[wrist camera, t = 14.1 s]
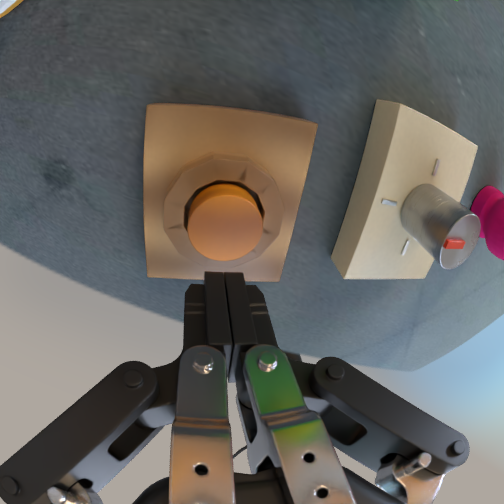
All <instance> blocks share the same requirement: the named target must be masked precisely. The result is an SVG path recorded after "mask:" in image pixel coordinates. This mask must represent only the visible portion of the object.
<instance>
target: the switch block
mask: <svg viewBox="0 0 504 504" xmlns="http://www.w3.org/2000/svg"><path fill="white" fill-rule="evenodd" d="M317 127H318V124H317V123H314V122H312V121H309V120H306V119H302V118H297V117H292V116H287V115H281V114H276V113H270V112H263V111H257V110H249V109H242V108H233V107H224V106H213V105H200V104H181V103H153V104H149V105H147V108H146V121H145V137H144V163H143V207H144V234H145V251H146V265H147V276H148V277H155V278H174V279H197V280H204V272H205V271H208V272H223V274H224V272H243V275H244V279H245V281H259V282H279V281H280V277H281V273H282V270H283V266H284V262H285V258H286V255H287V251H288V247H289V243H290V240H291V236H292V232H293V228H294V224H295V220H296V216H297V212H298V208H299V204H300V200H301V196H302V192H303V188H304V184H305V179H306V175H307V171H308V167H309V162H310V158H311V154H312V149H313V145H314V140H315V136H316V131H317ZM216 184H233V185H237V186H239V187H241V188H243V189H245V190H246V191H247V192H249V193H250V194H251V195H252V197H253V198H254V200H255V202H256V204H257V207H258V209H259V212H260V214H261V217H262V221H263V232H262V236H261V238H260V241H259V242H258V244H257V245H256V247H255V248H254V249H253V250H252V251H251V252H249V253H248V254H246V255H245V256H243V257H241V258H238V259H235V260H231V261H217V260H212V259H209V258H207V257H205V256H203V255H202V254H200V253H199V252H198V251H197V250H196V249H195V248H194V247H193V245H192V244H191V242H190V240H189V237H188V231H187V227H188V218H189V210H190V206H191V204H192V202H193V200H194V199H195V197H196V196H197V195H198V194H199V193H200V192H201V191H203V190H204V189H206V188H208V187H210V186H213V185H216Z"/></svg>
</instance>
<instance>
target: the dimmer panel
mask: <svg viewBox="0 0 504 504" xmlns="http://www.w3.org/2000/svg"><path fill="white" fill-rule="evenodd" d="M477 148H478V146H477V145H475V144H474V143H472V142H471V141H469V140H468V139H466V138H464V137H463V136H461V135H460V134H458V133H456V132H455V131H453V130H451V129H449V128H448V127H446V126H444V125H442V124H441V123H439V122H437V121H435V120H433V119H431V118H429V117H427V116H425V115H423V114H421V113H419V112H417V111H415V110H413V109H411V108H409V107H407V106H405V105H403V104H400V103H395V102H391V101H386V100H380V99H377V100H376V104H375V109H374V113H373V117H372V122H371V126H370V130H369V134H368V138H367V142H366V146H365V149H364V153H363V157H362V161H361V164H360V168H359V171H358V175H357V178H356V182H355V185H354V188H353V192H352V195H351V198H350V201H349V205H348V208H347V211H346V214H345V217H344V220H343V223H342V226H341V229H340V232H339V235H338V238H337V241H336V244H335V247H334V250H333V252H332V255H331V259H332V261H333V263H334V264H335V266H336V267H337V269H338V271H339V272H340V274H341V276H342V277H343V279H424V278H425V276H426V274H427V273H428V271H429V269H430V267H431V265H432V263H433V261H434V258H433V257H432V256H431V255H430V254H429V253H428V252H427V251H426V250H425V249H424V248H423V247H422V246H421V245H420V244H419V243H418V242H417V241H416V240H415V239H414V238H413V237H412V236H411V235H410V234H409V233H408V232H407V231H406V230H405V229H404V228H403V226H402V223H401V210H402V207H403V204H404V202H405V200H406V198H407V196H408V195H409V194H410V193H411V191H412V190H413V189H415V188H416V187H418V186H419V185H422V184H432V185H434V186H435V187H437V188H438V189H440V190H441V191H443V192H444V193H446V194H447V195H449V196H450V197H452V198H453V199H455V200H456V201H458V202H459V203H460V200H461V198H462V195H463V192H464V189H465V187H466V184H467V181H468V178H469V175H470V172H471V169H472V165H473V162H474V159H475V155H476V152H477Z"/></svg>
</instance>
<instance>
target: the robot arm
mask: <svg viewBox="0 0 504 504" xmlns="http://www.w3.org/2000/svg"><path fill="white" fill-rule="evenodd" d="M227 377H228V382H229V383H230V382H236V387H237V395H236V403H237V407H238V412H239V416H240V420H241V424H242V428H243V432H244V435H245V440H246V443H247V445H246V446H245V447H243V448H241V449H240V450H239V451H237V452H236V454H234V455H232V437H231V427H230V423H229V419H228V395H227ZM172 423H173V424H172ZM168 424H172V432H171V448H170V449H171V450H170V471H169V473H170V474H169V477H166V478H163V479H161V480H159V481H157V482H155V483H154V484H152V485H150V486H149V487H148V488H147V489H146V490H144V491H143V492H142V494H141V495H140V496H139V497H138V498H137V499H136V500H135V501H134V502H133V504H432V503H433V501H434V499H435V497H436V495H437V493H438V491H439V488H440V486H441V483H442V481H443V479H444V476H445V474H446V473H447V472H449V471H451V470H453V469H454V468H456V467H458V466H460V465H462V464H463V463H464V462H465V461H466V460H467V458H468V456H469V443H468V440H467V439H466V437H465V436H464V435H463V434H461V433H459V432H458V431H456V430H454V429H452V428H451V427H449V426H447V425H446V424H444V423H442V422H441V421H439V420H437V419H435V418H434V417H432V416H430V415H429V414H427V413H425V412H423V411H422V410H420V409H419V408H417V407H415V406H414V405H412V404H411V403H409V402H407V401H406V400H404V399H403V398H401V397H399V396H398V395H396V394H394V393H393V392H391V391H390V390H388V389H387V388H385V387H383V386H382V385H380V384H379V383H377V382H376V381H374V380H373V379H371V378H369V377H368V376H366V375H365V374H363V373H362V372H360V371H359V370H357V369H356V368H354V367H353V366H351V365H350V364H348V363H347V362H345V361H343V360H342V359H339V358H336V357H325V358H322V359H321V360H319V361H318V362H317V364H316V365H315V364H310V363H304V362H299V361H295V360H293V359H290V358H289V357H287V355H286V354H285V353H284V352H283V351H282V350H281V349H279V347H278V345H277V342H276V338H275V334H274V331H273V327H272V324H271V320H270V316H269V314H268V309H267V306H266V302H265V298H264V295H263V293H262V292H261V291H260V290H259V289H258V287H257V286H256V285H246V284H245V279H244V275H243V272H224V274H223V272H208V271H205V272H204V284H191V285H190V286H189V288H188V289H187V291H186V292H185V306H184V339H183V350H182V353H181V354H180V356H179V357H178V358H177V359H176V360H175V361H173V362H172V363H169V364H167V365H164V366H160V367H156V368H151V367H150V366H148V365H146V364H145V363H142V362H139V361H129V362H125V363H123V364H121V365H119V366H118V367H116V368H115V369H114V370H113V371H112V372H111V373H110V374H108V375H107V376H106V377H105V378H104V379H102V380H101V381H100V382H99V383H98V384H96V385H95V386H94V387H93V388H92V389H91V390H89V391H88V392H87V393H86V394H85V395H83V396H82V397H81V398H80V399H79V400H78V401H76V402H75V403H74V404H73V405H72V406H71V407H69V408H68V409H67V410H66V411H65V412H63V413H62V414H61V415H60V416H59V417H57V418H56V419H55V420H54V421H53V422H52V423H50V424H49V425H48V426H47V427H46V428H45V429H43V430H42V431H41V432H40V433H39V434H37V435H36V436H35V437H34V438H33V439H32V440H30V441H29V442H28V443H27V444H26V445H25V446H23V447H22V448H21V449H20V450H19V451H17V452H16V453H15V454H14V455H13V456H11V457H10V458H9V459H8V460H7V461H6V462H4V463H3V464H2V465H1V466H0V497H1V498H2V499H3V501H4V502H6V503H7V504H103V502H102V500H101V498H100V497H99V496H98V494H97V493H98V492H99V491H100V490H101V489H102V488H103V487H104V486H105V485H106V484H107V483H109V482H110V481H111V479H113V478H114V477H115V476H116V475H117V474H118V473H119V472H120V471H121V470H122V469H123V468H124V467H125V466H126V465H127V464H128V463H129V462H130V461H131V460H132V459H133V458H134V457H135V456H136V455H137V454H138V453H139V452H140V451H141V450H142V449H143V448H144V447H145V446H146V445H147V444H148V443H149V442H150V441H151V440H152V439H153V438H154V437H155V436H156V435H157V434H158V432H159V431H160V430H161V429H162V428H163V427H164V426H165V425H168ZM334 447H336V448H337V449H339V450H340V451H342V452H344V453H345V454H347V455H348V456H350V457H351V458H353V459H355V460H356V461H358V462H360V463H361V464H363V465H365V466H366V467H368V468H370V469H371V470H373V471H375V472H377V476H376V478H375V484H376V485H377V486H379V487H381V488H382V489H383V490H384V491H383V490H381V489H380V488H378V487H376V486H375V485H373V484H371V483H370V482H368V481H366V480H365V479H363V478H362V477H360V476H359V475H357V474H355V473H354V472H352V471H351V470H349V469H347V468H345V467H343V466H341V464H340V461H339V459H338V456H337V454H336V451H335V449H334ZM245 449H247V457H248V462H249V466H250V470H251V473H252V474H243V473H235V472H234V471H233V458H234V457H236V456H237V455H238V454H239V453H241V452H242V451H243V450H245Z"/></svg>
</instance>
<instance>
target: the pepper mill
mask: <svg viewBox="0 0 504 504" xmlns="http://www.w3.org/2000/svg"><path fill="white" fill-rule="evenodd" d="M470 211H471V212H473V213H474V214H475V215H477V216H478V218H479V220H480V224H481V229H480V235H479V237H481V238H485V239H486V244H487V247H488V249H489V250H490V252H491V253H493V254H494V255H495V256H496V257H498V258H500V259H502V260H504V195H503V193H502V192H501V191H499V190H497V189H496V188H494V187H493V186H486V187H484V188H483V189H482V190H481V191H480V192H479V193H478V195H477V196H476V198H475V200H474V202H473V204H472V207H471V210H470Z"/></svg>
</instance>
